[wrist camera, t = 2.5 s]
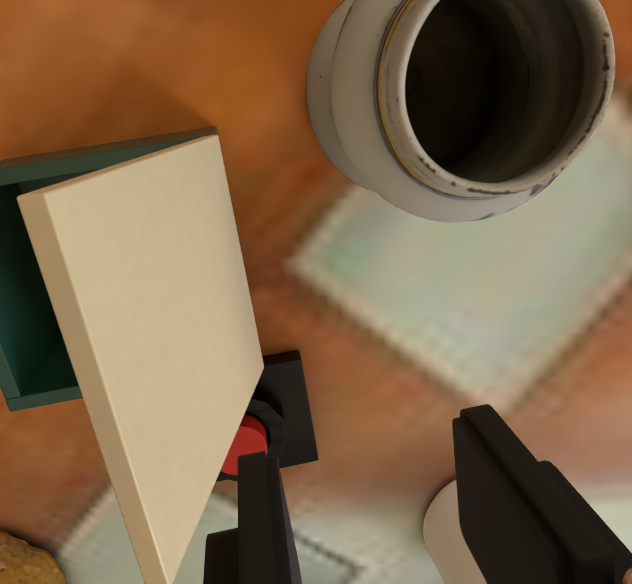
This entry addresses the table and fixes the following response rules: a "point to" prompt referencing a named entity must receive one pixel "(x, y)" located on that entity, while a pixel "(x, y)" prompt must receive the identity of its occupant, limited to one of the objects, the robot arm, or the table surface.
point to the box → (26, 278)
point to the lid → (153, 330)
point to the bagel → (26, 563)
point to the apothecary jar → (459, 98)
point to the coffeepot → (449, 540)
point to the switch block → (283, 411)
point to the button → (245, 443)
